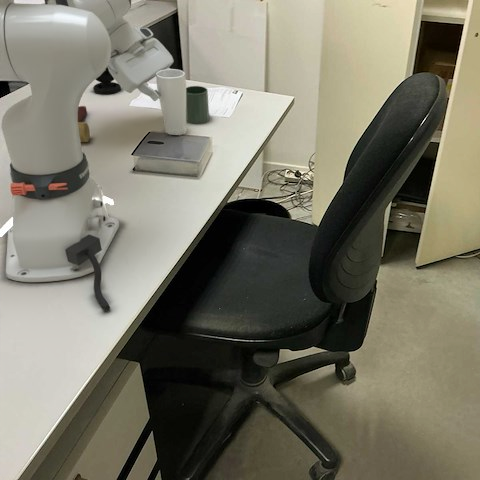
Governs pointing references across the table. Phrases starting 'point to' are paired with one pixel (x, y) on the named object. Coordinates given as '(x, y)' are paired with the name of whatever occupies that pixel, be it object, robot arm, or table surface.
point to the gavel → (83, 125)
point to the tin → (197, 105)
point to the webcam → (106, 84)
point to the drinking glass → (172, 100)
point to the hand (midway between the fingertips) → (167, 92)
